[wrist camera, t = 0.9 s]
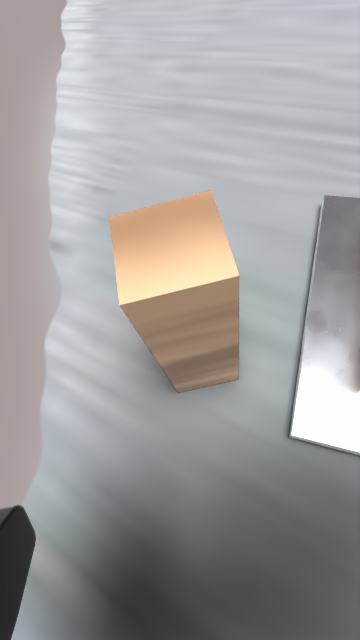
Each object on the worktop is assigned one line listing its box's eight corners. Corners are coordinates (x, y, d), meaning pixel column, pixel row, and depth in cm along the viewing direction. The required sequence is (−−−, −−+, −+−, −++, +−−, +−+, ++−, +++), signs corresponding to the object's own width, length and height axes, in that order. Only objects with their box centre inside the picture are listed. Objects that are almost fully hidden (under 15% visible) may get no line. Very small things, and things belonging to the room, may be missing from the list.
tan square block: (238, 379, 21) (239, 275, 10) (178, 393, 21) (119, 305, 11) (223, 325, 23) (210, 190, 12) (168, 338, 23) (109, 216, 13)
